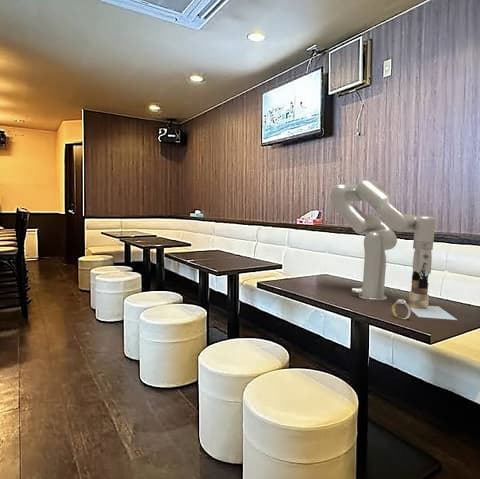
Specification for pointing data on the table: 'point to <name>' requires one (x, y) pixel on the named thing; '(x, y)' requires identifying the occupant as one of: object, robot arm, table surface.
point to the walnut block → (418, 290)
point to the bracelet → (401, 303)
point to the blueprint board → (433, 313)
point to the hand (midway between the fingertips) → (418, 285)
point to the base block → (418, 300)
